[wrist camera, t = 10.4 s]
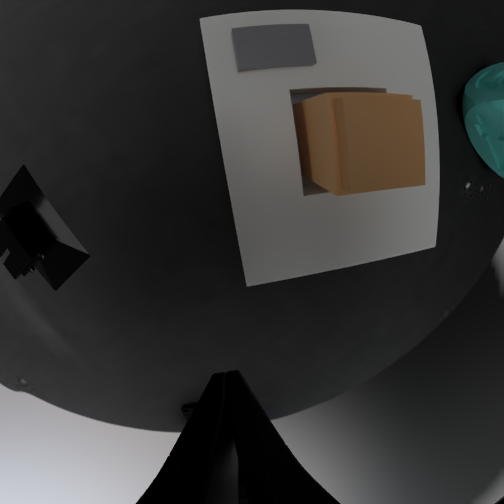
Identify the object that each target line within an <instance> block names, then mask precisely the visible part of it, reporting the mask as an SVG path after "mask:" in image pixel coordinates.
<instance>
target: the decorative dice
mask: <svg viewBox="0 0 504 504" xmlns="http://www.w3.org/2000/svg"><path fill="white" fill-rule="evenodd" d="M462 107H463V118H464V123H465V127H466V130H467V133H468V136H469V139H470V141H471V143H472V145H473V146H474V148H475V150H476V151H477V153H478V154H479V155H480V157H481V158H482V159H483V160H484V161H485V163H486V164H487V165H488V166H489V167H490V168H491V169H492V170H494V171H495V172H496V173H497V174H498V175H500V176H501V177H503V178H504V62H502V63H498V64H494V65H491V66H489V67H487V68H485V69H483V70H481V71H479V72H478V73H476V74H475V75H474V76H473V77H472V78H471V79H470V80H469V81H468V82H467V84H466V86H465V90H464V94H463V104H462Z"/></svg>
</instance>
